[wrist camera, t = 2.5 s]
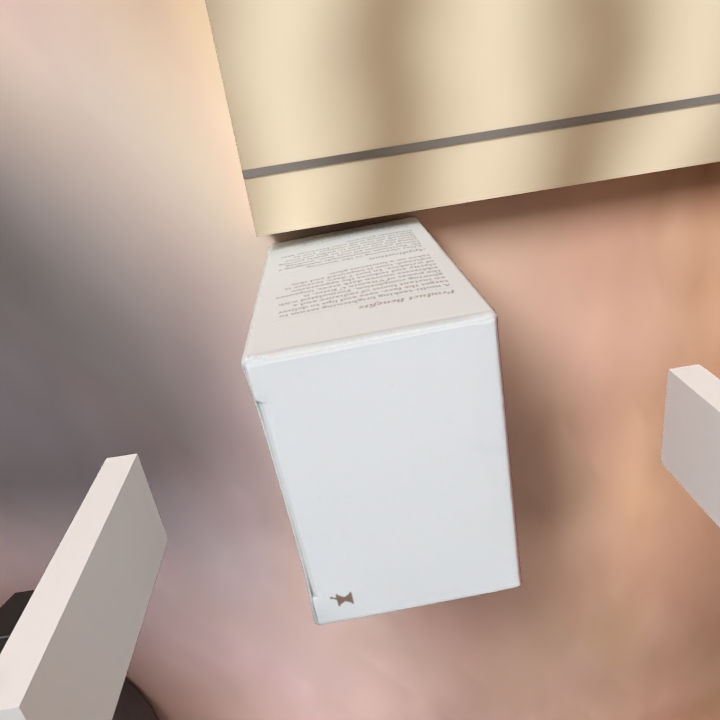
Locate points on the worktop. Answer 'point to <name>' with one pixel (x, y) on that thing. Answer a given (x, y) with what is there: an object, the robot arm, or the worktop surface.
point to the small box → (384, 420)
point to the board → (459, 99)
